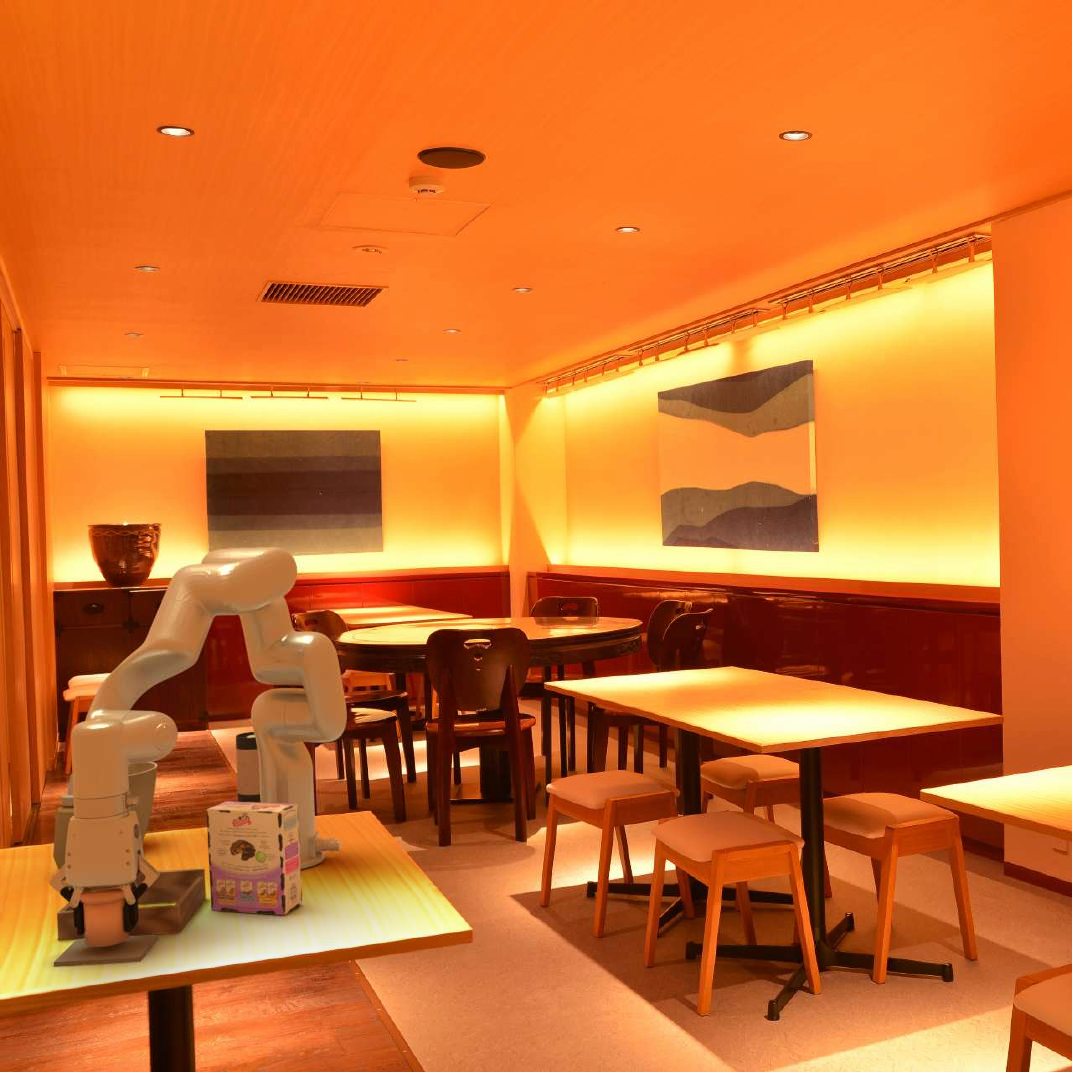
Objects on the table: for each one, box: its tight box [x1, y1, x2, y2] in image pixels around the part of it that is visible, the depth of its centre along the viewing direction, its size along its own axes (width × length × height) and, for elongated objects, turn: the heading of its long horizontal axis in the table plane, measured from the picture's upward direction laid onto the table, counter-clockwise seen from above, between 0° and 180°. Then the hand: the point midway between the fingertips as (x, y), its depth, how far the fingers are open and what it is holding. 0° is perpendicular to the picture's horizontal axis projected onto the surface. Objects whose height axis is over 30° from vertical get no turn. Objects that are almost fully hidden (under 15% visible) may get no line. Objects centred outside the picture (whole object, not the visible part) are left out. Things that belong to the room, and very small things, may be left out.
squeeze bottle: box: [52, 773, 74, 871], centre depth 203 cm, size 8×8×18 cm
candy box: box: [205, 800, 303, 916], centre depth 179 cm, size 14×6×16 cm, turn 71°
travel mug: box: [235, 731, 261, 803], centre depth 226 cm, size 8×8×20 cm
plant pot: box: [128, 761, 158, 844], centre depth 217 cm, size 15×15×16 cm
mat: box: [53, 934, 160, 967], centre depth 162 cm, size 12×9×1 cm
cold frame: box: [56, 868, 207, 941], centre depth 177 cm, size 18×16×5 cm
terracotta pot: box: [80, 886, 129, 947], centre depth 162 cm, size 7×7×7 cm
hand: (106, 929), depth 162 cm, fingers closed on terracotta pot, 6 cm apart
